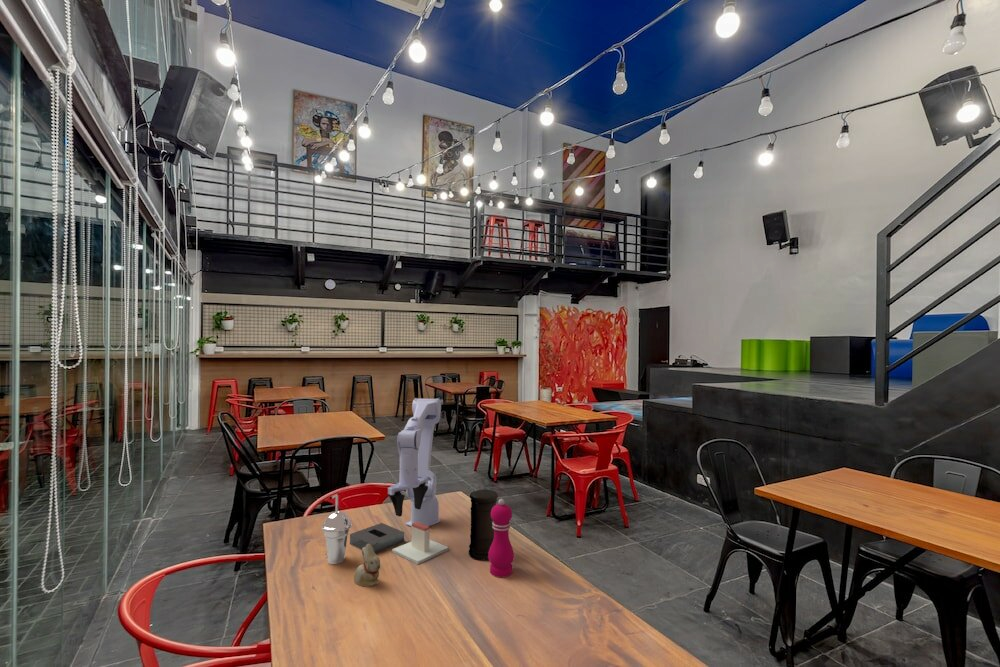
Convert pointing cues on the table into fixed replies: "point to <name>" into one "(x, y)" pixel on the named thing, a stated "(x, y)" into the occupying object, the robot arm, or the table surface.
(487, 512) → the container
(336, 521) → the cup with straw
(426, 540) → the pink topped brick
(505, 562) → the pepper mill
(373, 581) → the chocolate bunny
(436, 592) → the table surface
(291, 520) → the table surface
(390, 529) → the grey plate with slot
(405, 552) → the pad
